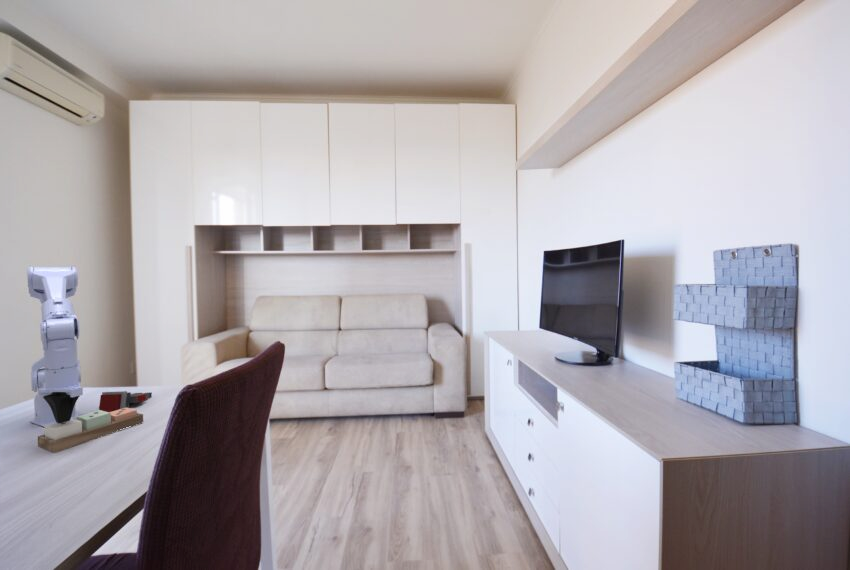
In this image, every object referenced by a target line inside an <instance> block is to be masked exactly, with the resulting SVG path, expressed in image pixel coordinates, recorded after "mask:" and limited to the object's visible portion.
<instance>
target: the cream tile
mask: <svg viewBox="0 0 850 570" xmlns="http://www.w3.org/2000/svg"><path fill="white" fill-rule="evenodd" d="M81 432H82V421H79V420H77V419H72V418H71V419H70V421H67V422H63V423H60V424H59V423H57V422H56V423H53V424H49V425H46V426H45V427H44V435H45V438H48V439H50V440H53V441H55V440H58V439H62V438H65V437H68V436H71V435H74V434H77V433H81Z"/></svg>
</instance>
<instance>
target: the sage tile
mask: <svg viewBox="0 0 850 570" xmlns="http://www.w3.org/2000/svg"><path fill="white" fill-rule="evenodd" d="M80 415H81V416H78V417H77V419H76V420H79V421H82V430H86V431H87V430H90V429H93V428H97V427H100V426H103V425H106V424H109V423H111V413H109V412H105V411H102V410H99V409H98V410H95V411H92V412H88V413H85V414H80Z"/></svg>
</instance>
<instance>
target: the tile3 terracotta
mask: <svg viewBox="0 0 850 570" xmlns="http://www.w3.org/2000/svg"><path fill="white" fill-rule="evenodd" d="M109 413H111V421H114V422H116V421H119V420H122V419H125V418H128V417H131V416H135V415H137V413H138V412H137V409H134V408H130V407H128V408H127V407H126V408H123V409H119V410H116V411H112V412H109Z"/></svg>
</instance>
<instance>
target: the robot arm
mask: <svg viewBox="0 0 850 570" xmlns="http://www.w3.org/2000/svg"><path fill="white" fill-rule="evenodd" d="M26 271H27V272H26V273H27V278H26V279H27V287H28V294H29V296H30V297H31V298H35V299H38V300H39V301H40V304H41V307H40V310H41V320H42V321H40V326H39V327H40V341H41V342H42V350H43V352H44V353H43V357H41V358H39V359H37V361H35V362H34V363H32V365H31V371H30V378H31V380H30V381H31V383H30V384H31V391H33V393H37V394H36V395H35V397H34V399H33V403H34V406H33V407H34V419H31V420H29V422H30V423H33V424H34V425H38V426H41V427H43V428H45V426H46V425H49V424H53V423H56V422H57V423H59V424H60V423H63V422H67V421H70V419H71V418H72V419H76V420H77V417H78V416H81V415H82V414H79V413H76V403H77V401H78V400H79V398H80V397H81V396H83V395H84V391H83V390H84V389H83V387H82V386H81V385H80V384H81V381H82V372H81V371H82V370H81V365H80V359H78V341H79V338H80V322H79V318H78V317H77V315H76V314H75V310H74V305H73V303H72V301H70V300H69V299H68V298H71V297H73V296H75V293H76V292H77V287H78V283H79V282H78V279H79V277H78V269H77V268H76V267H75V266H28V267H27V269H26ZM75 337H76V339H75Z"/></svg>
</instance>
